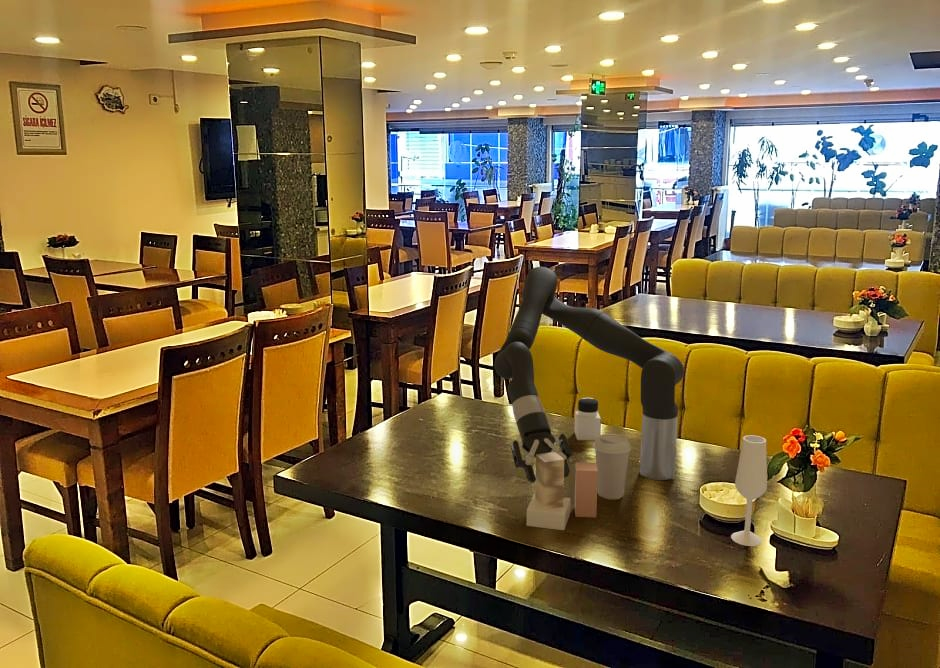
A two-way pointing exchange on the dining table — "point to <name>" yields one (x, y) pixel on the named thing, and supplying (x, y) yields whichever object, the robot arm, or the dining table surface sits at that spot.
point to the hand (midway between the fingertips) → (549, 479)
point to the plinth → (548, 515)
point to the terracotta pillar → (586, 489)
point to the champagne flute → (751, 482)
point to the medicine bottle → (587, 420)
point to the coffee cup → (611, 464)
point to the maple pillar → (549, 480)
